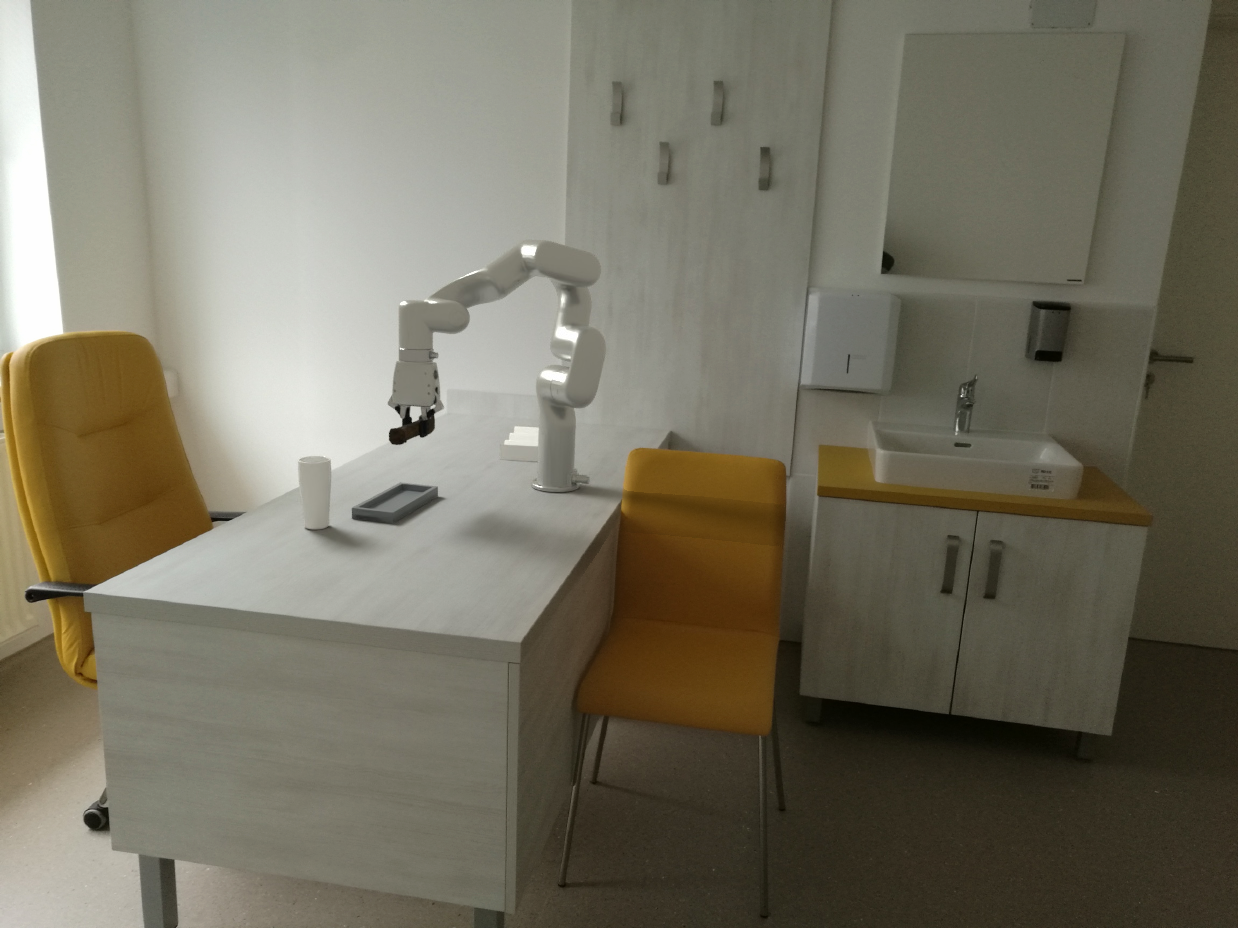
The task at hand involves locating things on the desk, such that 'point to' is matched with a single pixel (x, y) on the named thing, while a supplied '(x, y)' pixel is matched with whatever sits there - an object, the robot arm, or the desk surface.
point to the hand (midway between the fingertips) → (415, 435)
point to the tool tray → (394, 502)
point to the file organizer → (521, 445)
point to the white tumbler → (315, 490)
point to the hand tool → (409, 431)
